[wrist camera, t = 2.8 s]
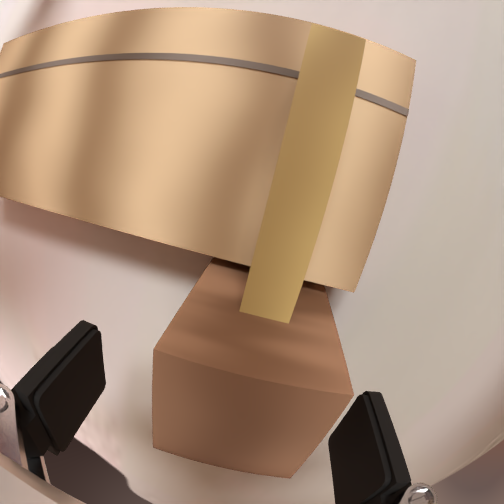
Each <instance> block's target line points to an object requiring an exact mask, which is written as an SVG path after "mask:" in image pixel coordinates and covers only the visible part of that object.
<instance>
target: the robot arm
mask: <svg viewBox="0 0 504 504" xmlns="http://www.w3.org/2000/svg"><path fill="white" fill-rule="evenodd" d="M105 385H106V380H105V372H104V363H103V352H102V340H101V332H100V331H98V328H97V326H96V325H93V324H91V323H89V322H86V321H84V320H82V321H80V322H79V323H78V324H77V325H76V326H75V327H74V328H73V329H72V330H71V331H70V332H69V333H68V334H66V335H65V336H64V337H63V338H62V339H61V340H60V341H59V342H58V343H57V344H56V345H55V346H54V347H52V348H51V349H50V350H49V351H48V352H47V353H46V354H45V355H44V356H43V357H42V358H41V359H40V360H39V361H38V362H37V363H36V364H35V365H34V366H33V367H32V368H31V369H30V370H29V371H28V373H27V374H26V375H25V376H24V377H23V378H22V379H21V380H20V381H19V382H18V383H17V384H16V385H15V386H14V387H13V389H12V390H10V389H9V388H8V387H7V386H5V385H3V384H0V504H85V503H83V502H81V501H79V500H77V499H76V498H74V497H72V496H70V495H68V494H66V493H64V492H63V491H61V490H59V489H57V488H56V487H54V486H52V485H51V484H50V481H49V477H48V474H47V470H46V466H45V462H44V458H43V455H44V454H45V452H46V451H47V450H49V451H50V452H52V453H53V454H55V455H58V454H59V452H60V451H62V452H63V451H65V450H66V448H67V447H68V445H69V444H70V442H71V440H72V439H73V437H74V435H75V434H76V432H77V431H78V429H79V428H80V426H81V424H82V423H83V421H84V420H85V418H86V417H87V415H88V413H89V412H90V410H91V409H92V407H93V406H94V404H95V403H96V401H97V400H98V398H99V397H100V395H101V394H102V392H103V390H104V388H105ZM328 445H329V453H330V461H331V469H332V477H333V486H334V495H335V504H437V495H436V493H435V491H434V490H433V488H432V487H430V486H429V485H427V484H424V483H416V484H413V485H411V478H410V475H409V472H408V468H407V465H406V462H405V459H404V456H403V453H402V450H401V447H400V444H399V441H398V438H397V435H396V432H395V429H394V426H393V423H392V421H391V418H390V415H389V412H388V410H387V407H386V404H385V402H384V399H383V396H382V394H381V393H380V392H370V391H365V392H364V393H363V394H362V395H359V396H358V397H357V399H356V400H355V402H354V403H353V405H352V406H351V408H350V409H349V411H348V412H347V414H346V415H345V416H344V418H343V419H342V421H341V422H340V423H339V425H338V426H337V428H336V429H335V430H334V432H333V433H332V434H331V436H330V438H329V442H328Z"/></svg>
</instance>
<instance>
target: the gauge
mask: <svg viewBox="0 0 504 504" xmlns="http://www.w3.org/2000/svg"><path fill="white" fill-rule="evenodd" d="M365 42H366V39H363V38H360V37H357V36H355V35H352V34H348V33H345V32H342V31H339V30H336V29H332V28H329V27H325V26H321V25H318V24H314V23H312V25H311V29H310V33H309V37H308V41H307V45H306V49H305V53H304V57H303V61H302V65H301V69H300V73H299V77H298V81H297V85H296V89H295V93H294V97H293V101H292V105H291V109H290V113H289V117H288V121H287V125H286V129H285V133H284V137H283V141H282V145H281V148H280V152H279V156H278V160H277V164H276V168H275V172H274V176H273V180H272V184H271V188H270V192H269V196H268V200H267V204H266V208H265V212H264V216H263V220H262V224H261V228H260V232H259V235H258V239H257V243H256V247H255V251H254V255H253V259H252V263H251V266H247V265H243V264H240V263H236V262H232V261H228V260H224V259H220V258H217V257H214V258H213V259H212V260H211V262H210V263H209V265H208V266H207V268H206V269H205V271H204V272H203V274H202V275H201V277H200V278H199V280H198V281H197V283H196V284H195V286H194V287H193V289H192V290H191V292H190V293H189V295H188V296H187V298H186V300H185V301H184V303H183V304H182V306H181V307H180V309H179V310H178V312H177V313H176V315H175V316H174V318H173V319H172V321H171V323H170V324H169V326H168V327H167V329H166V330H165V332H164V333H163V335H162V337H161V338H160V340H159V341H158V343H157V344H156V346H155V348H154V350H153V380H152V424H153V447H154V448H156V449H159V450H162V451H165V452H168V453H171V454H174V455H178V456H181V457H184V458H187V459H191V460H195V461H198V462H202V463H206V464H210V465H214V466H218V467H223V468H227V469H232V470H237V471H242V472H248V473H253V474H260V475H267V476H274V477H282V478H291V477H292V476H293V475H294V473H295V472H296V471H297V470H298V469H299V468H300V466H301V465H302V464H303V463H304V462H305V461H306V459H307V458H308V457H309V456H310V455H311V453H312V452H313V451H314V450H315V448H316V447H317V446H318V445H319V443H320V442H321V441H322V439H323V438H324V437H325V435H326V434H327V433H328V431H329V430H330V429H331V427H332V426H333V425H334V423H335V422H336V421H337V419H338V418H339V416H340V415H341V413H342V412H343V411H344V409H345V408H346V406H347V405H348V403H349V402H350V400H351V399H352V397H353V396H354V393H353V389H352V385H351V381H350V377H349V373H348V369H347V365H346V361H345V357H344V354H343V350H342V346H341V342H340V339H339V335H338V332H337V328H336V324H335V321H334V317H333V314H332V311H331V307H330V304H329V300H328V297H327V294H326V290H325V287H324V285H322V284H318V283H314V282H310V281H306V280H304V278H305V275H306V272H307V269H308V266H309V263H310V260H311V256H312V253H313V250H314V247H315V244H316V241H317V237H318V234H319V231H320V227H321V224H322V221H323V217H324V214H325V211H326V207H327V204H328V200H329V197H330V193H331V190H332V186H333V182H334V179H335V175H336V171H337V168H338V164H339V160H340V156H341V152H342V148H343V144H344V140H345V136H346V132H347V128H348V124H349V120H350V115H351V111H352V107H353V102H354V98H355V93H356V88H357V84H358V79H359V74H360V69H361V64H362V59H363V53H364V48H365Z"/></svg>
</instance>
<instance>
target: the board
mask: <svg viewBox="0 0 504 504" xmlns="http://www.w3.org/2000/svg"><path fill="white" fill-rule="evenodd" d="M314 24H315V23H314ZM311 25H312V23H311V22H307V21H303V20H298V19H294V18H289V17H284V16H278V15H272V14H266V13H259V12H252V11H243V10H234V9H221V8H199V7H174V8H153V9H140V10H131V11H122V12H115V13H109V14H103V15H97V16H92V17H87V18H82V19H78V20H74V21H69V22H66V23H62V24H58V25H55V26H51V27H48V28H45V29H41V30H38V31H35V32H32V33H29V34H27V35H24V36H21V37H19V38H16V39H14V40H11V41H9V42H6V43H4V44H3V47H2V50H1V53H0V197H3V198H7V199H10V200H13V201H17V202H20V203H23V204H27V205H30V206H34V207H37V208H40V209H44V210H47V211H51V212H54V213H57V214H61V215H64V216H68V217H71V218H75V219H78V220H82V221H85V222H89V223H92V224H96V225H99V226H103V227H107V228H110V229H114V230H117V231H121V232H124V233H128V234H132V235H135V236H139V237H143V238H146V239H150V240H153V241H157V242H161V243H164V244H168V245H172V246H176V247H179V248H183V249H187V250H190V251H194V252H198V253H202V254H205V255H209V256H213V257H217V258H220V259H224V260H228V261H232V262H236V263H240V264H243V265H247V266H251V263H252V259H253V255H254V251H255V247H256V243H257V239H258V235H259V232H260V228H261V224H262V220H263V216H264V212H265V208H266V204H267V200H268V196H269V192H270V188H271V184H272V180H273V176H274V172H275V168H276V164H277V160H278V156H279V152H280V148H281V145H282V141H283V137H284V133H285V129H286V125H287V121H288V117H289V113H290V109H291V105H292V101H293V97H294V93H295V89H296V85H297V81H298V77H299V73H300V69H301V65H302V61H303V57H304V53H305V49H306V45H307V41H308V37H309V33H310V29H311ZM318 25H319V24H318ZM321 26H323V25H321ZM325 27H326V26H325ZM329 28H330V27H329ZM332 29H334V28H332ZM336 30H337V29H336ZM339 31H340V30H339ZM342 32H343V31H342ZM345 33H347V32H345ZM348 34H350V33H348ZM352 35H353V34H352ZM355 36H356V35H355ZM357 37H359V36H357ZM360 38H361V37H360ZM363 39H364V38H363ZM415 64H416V60H414V59H412V58H410V57H408V56H406V55H404V54H401V53H399V52H397V51H395V50H392V49H390V48H387V47H385V46H383V45H380V44H378V43H375V42H372V41H370V40H367V39H366V42H365V48H364V53H363V59H362V64H361V69H360V74H359V79H358V84H357V88H356V93H355V98H354V102H353V107H352V111H351V115H350V120H349V124H348V128H347V132H346V136H345V140H344V144H343V148H342V152H341V156H340V160H339V164H338V168H337V171H336V175H335V179H334V182H333V186H332V190H331V193H330V197H329V200H328V204H327V207H326V211H325V214H324V217H323V221H322V224H321V227H320V231H319V234H318V237H317V241H316V244H315V247H314V250H313V253H312V256H311V260H310V263H309V266H308V269H307V272H306V275H305V278H304V280H306V281H310V282H314V283H318V284H322V285H326V286H330V287H334V288H338V289H342V290H346V291H350V292H354V291H355V289H356V286H357V284H358V281H359V279H360V276H361V274H362V271H363V268H364V266H365V263H366V260H367V257H368V255H369V252H370V249H371V246H372V243H373V240H374V237H375V235H376V232H377V229H378V225H379V222H380V219H381V216H382V213H383V210H384V206H385V203H386V200H387V196H388V193H389V189H390V186H391V182H392V179H393V175H394V171H395V167H396V163H397V159H398V155H399V151H400V147H401V143H402V138H403V134H404V129H405V124H406V119H407V116H408V112H409V104H410V98H411V92H412V86H413V79H414V72H415Z"/></svg>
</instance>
